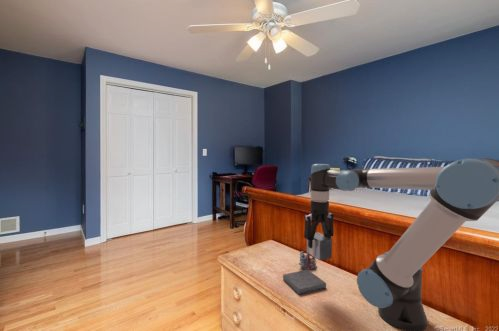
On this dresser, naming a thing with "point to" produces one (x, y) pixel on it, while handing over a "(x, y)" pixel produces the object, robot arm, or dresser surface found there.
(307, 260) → the grey red bumpy cluster
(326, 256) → the block
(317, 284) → the steel plate
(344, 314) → the dresser surface
